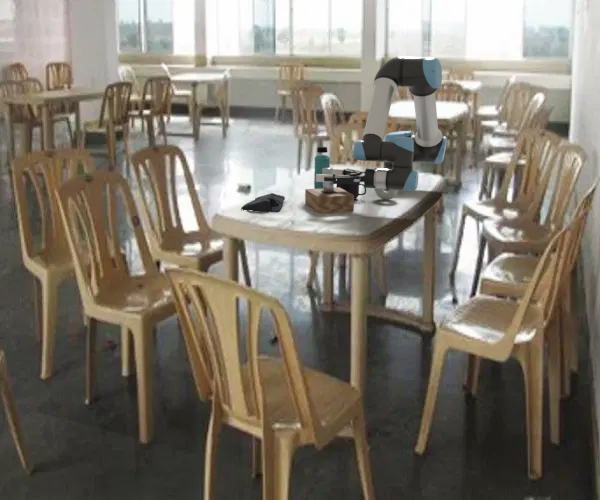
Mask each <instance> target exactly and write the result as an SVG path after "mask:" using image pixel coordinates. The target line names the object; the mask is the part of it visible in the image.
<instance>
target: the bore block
mask: <svg viewBox="0 0 600 500" xmlns="http://www.w3.org/2000/svg"><path fill="white" fill-rule="evenodd" d="M304 199H305V201H304V204H305V205H306V206H307V207H308V208H310V209H311V210H313V211H315V212H316V213H317V214H323V213H325V214H326V213H327V214H329V213H341V212H353V211H355V210H354V209H355V208H354V207H355V199H354V195H353V194H351V193H349V192H347V191H345V190H343V189H341V188H339V187H338V188H336V187H334V193H333V194H324V193H323V188H319V189H315V188H305V195H304Z"/></svg>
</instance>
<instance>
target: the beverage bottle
mask: <svg viewBox="0 0 600 500" xmlns="http://www.w3.org/2000/svg"><path fill="white" fill-rule="evenodd" d="M316 149H317V150H316V152H317V153H321V154H317V155H316V156H315V157H314V173H313V174H314V177H313V179H314V181H313V185H314V186H313V188H314V189H319V188H323V182H316V174H322V168H331V162H330V161H331V160H330V159H331V157H330V156H329V155H328V154H325V153H328V147H327V146H317V148H316ZM322 153H323V154H322Z"/></svg>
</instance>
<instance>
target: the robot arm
mask: <svg viewBox="0 0 600 500" xmlns="http://www.w3.org/2000/svg"><path fill="white" fill-rule="evenodd" d="M442 72H443V69H442V64H441V61H440V60H439V59H438V58H437V57H436V56H435V57H433V56H404V55H403V56H402V55H400V56H395V57H393V58H391V59H389V60H388V61H386V62H385V63H384V64H383V65H382V66H381V67H380V68H379V69H378V71H377V73H376V74H375V76H374V80H373V83H372V86H373V89H374V91H373V95H372V99H371V101H370V102H371V103H370V106H369V109H368V115H367V119H366V121H365V122H366V123H365V127H364V131H363V135H362V138H361V139H358V140H355V142H354V143H353V150H352V151H353V152H352V153H353V157H354V159H355V160H356V161H363V162H381V163H383V168H381V167H378V168H376V167H366V169H364V170H360V169H359V170H358V169H353V168H349V167H348V168H343V169H341V168H333V175H324V174H316V182H330V183H333V184H334V185H337V184H361V183H363V184H364V185H365V187H366V189H374V188H375V187H376V188H380V189H381V188H382V190H384V191H386V190H390V189H393V190H398V191H404V192H405V191H415V190H417V189H418V185H419V171H417V170H415V169H414V168H413V167H414V166H413V165H414V164H413V163H423V164H433V165H434V164H442V163H443V162H444V158H445V154H446V149H447V143H448V142H447V141H448V138H447V136H445V135H443V133H442V131H441V130H440V129H439V125H438V123H439V122H438V114H437V102H436V92H437V91H438V89H439V88H440V87H441V85H442V81H443V75H442ZM399 87H401V88H404V87H405V88H408V92H409V93H410V94H411V95H412V96H413V103H414V111H415V112H414V113H415V123H416V132H415V134H413V131H411V130H402V131H394V132H393V131H392V132H390V133H386V135H385V131H386V127H387V123H388V119H389V115H390V111H391V106H392V101H393V97H394V95H395V93H396V92H397V90H398V88H399ZM384 135H385V136H384ZM383 140H384V141H383Z"/></svg>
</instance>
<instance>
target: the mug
mask: <svg viewBox="0 0 600 500" xmlns="http://www.w3.org/2000/svg"><path fill="white" fill-rule="evenodd" d="M335 186H336V187H335V188H338V187H339V188H341V189H343V190H345V191H347V192H349V193H351V194H353V195H354V200H356V199H357V198H358V197H359V196H364V195H366V193H367V188H366V187H365V185H364V183H360V184H336V185H335ZM360 186H363V188H364V192H362V193H360Z"/></svg>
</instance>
